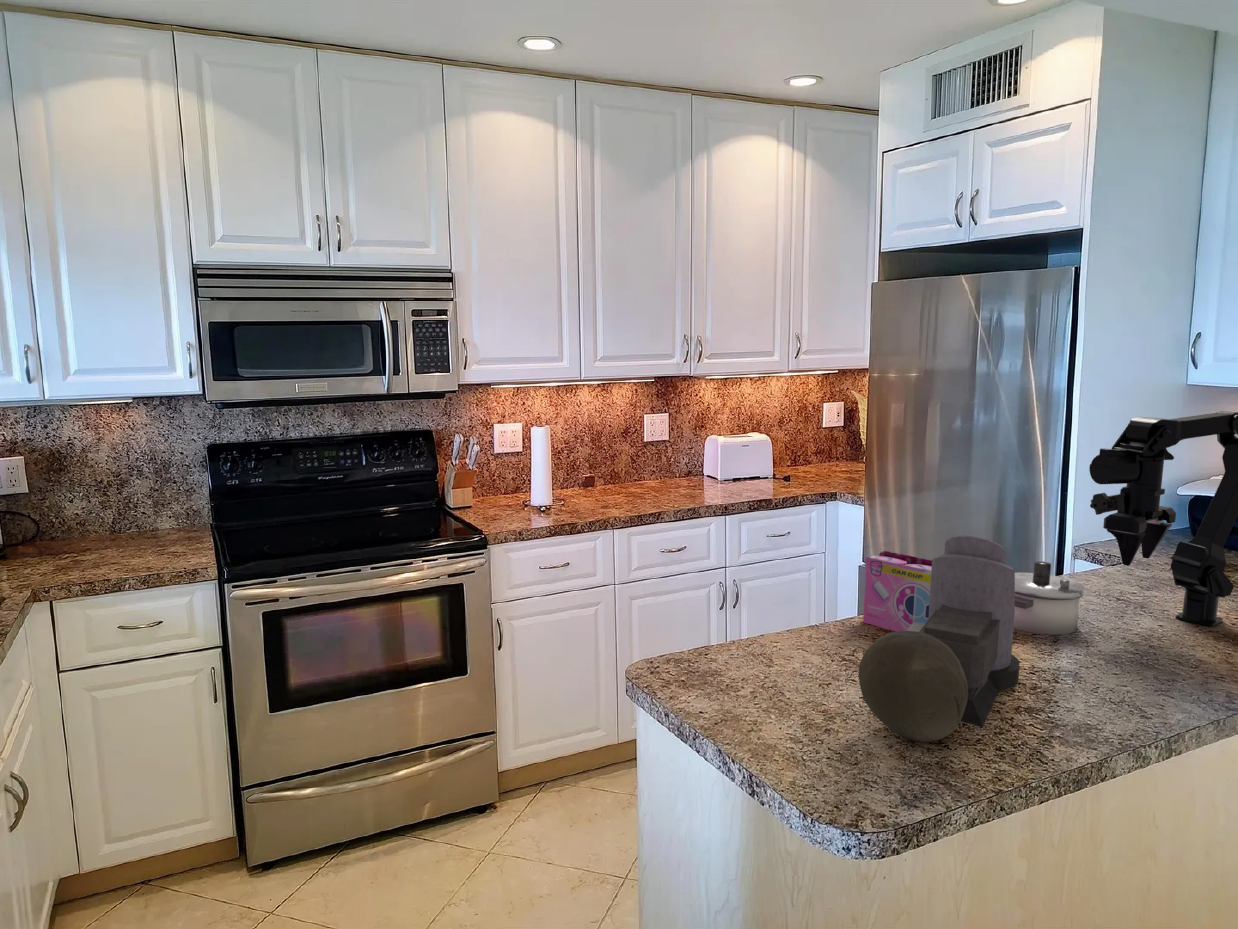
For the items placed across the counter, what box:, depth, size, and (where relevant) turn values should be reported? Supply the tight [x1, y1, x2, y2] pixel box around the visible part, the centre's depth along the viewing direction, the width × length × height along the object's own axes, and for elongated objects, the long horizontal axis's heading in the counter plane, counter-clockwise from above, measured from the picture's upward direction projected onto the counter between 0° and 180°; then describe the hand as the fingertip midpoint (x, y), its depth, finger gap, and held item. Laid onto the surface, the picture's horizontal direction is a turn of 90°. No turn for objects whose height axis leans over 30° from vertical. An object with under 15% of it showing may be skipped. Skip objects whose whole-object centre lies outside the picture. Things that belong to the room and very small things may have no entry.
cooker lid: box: [1015, 560, 1085, 600], centre depth 167 cm, size 15×15×5 cm
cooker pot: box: [1013, 594, 1081, 636], centre depth 168 cm, size 19×14×7 cm
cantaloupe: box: [858, 631, 968, 743], centre depth 118 cm, size 14×14×15 cm
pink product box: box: [862, 550, 933, 632], centre depth 162 cm, size 24×8×14 cm, turn 43°
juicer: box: [906, 535, 1020, 727], centre depth 137 cm, size 30×16×24 cm, turn 148°
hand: (1136, 561), depth 165 cm, fingers open, 9 cm apart
